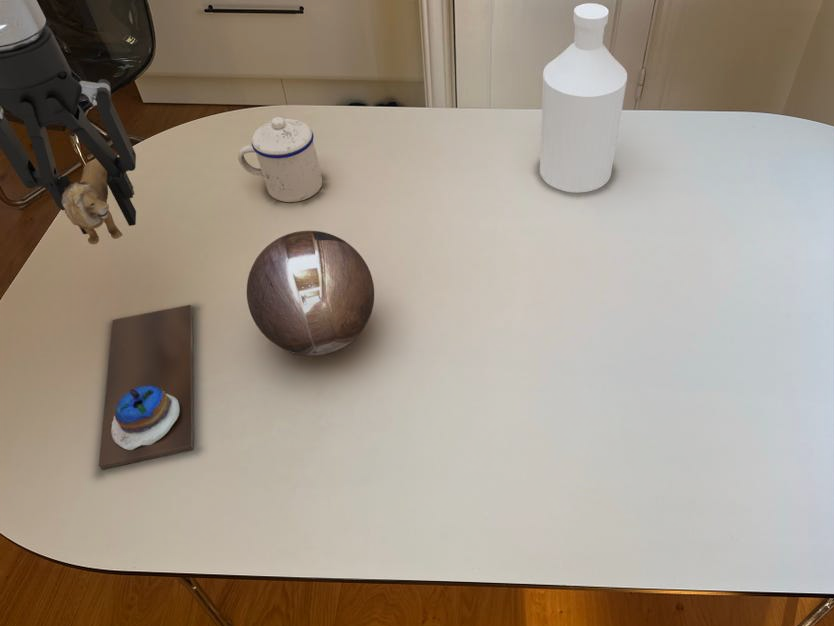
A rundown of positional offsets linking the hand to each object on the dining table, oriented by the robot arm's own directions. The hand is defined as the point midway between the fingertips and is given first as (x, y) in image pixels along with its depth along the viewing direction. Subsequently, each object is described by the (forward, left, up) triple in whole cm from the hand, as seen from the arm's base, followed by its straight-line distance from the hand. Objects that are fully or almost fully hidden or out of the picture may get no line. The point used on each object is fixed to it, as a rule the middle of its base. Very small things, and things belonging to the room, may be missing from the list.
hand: (110, 222), depth 87 cm
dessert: (+1, -22, -12) cm, 25 cm away
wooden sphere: (+22, -14, -13) cm, 29 cm away
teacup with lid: (+20, +19, -13) cm, 31 cm away
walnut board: (+1, -16, -13) cm, 20 cm away
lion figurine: (0, 0, -1) cm, 1 cm away
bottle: (+65, +10, -13) cm, 67 cm away
